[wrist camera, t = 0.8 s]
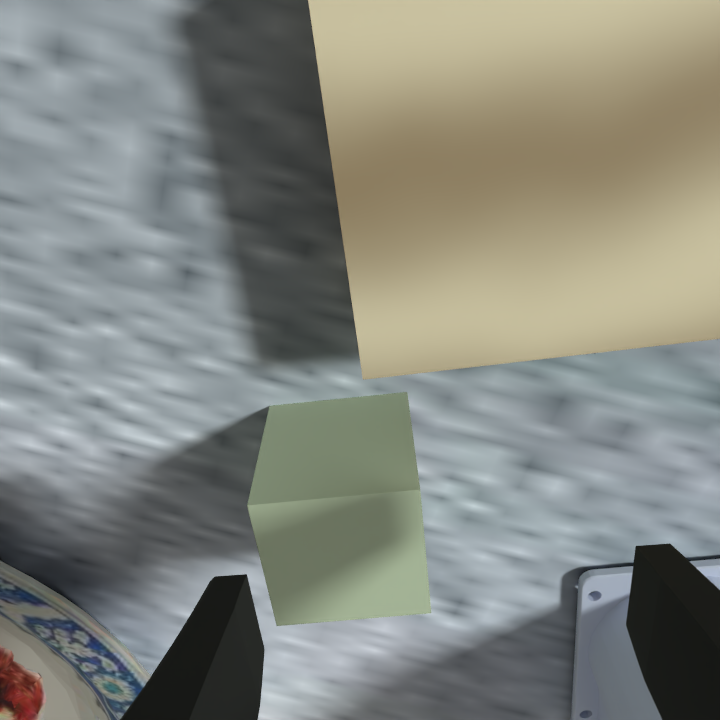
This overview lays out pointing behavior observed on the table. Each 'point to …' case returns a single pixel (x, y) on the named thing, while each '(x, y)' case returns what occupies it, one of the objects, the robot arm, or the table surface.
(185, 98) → the table surface
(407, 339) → the birch block
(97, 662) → the ceramic plate
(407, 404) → the green block
